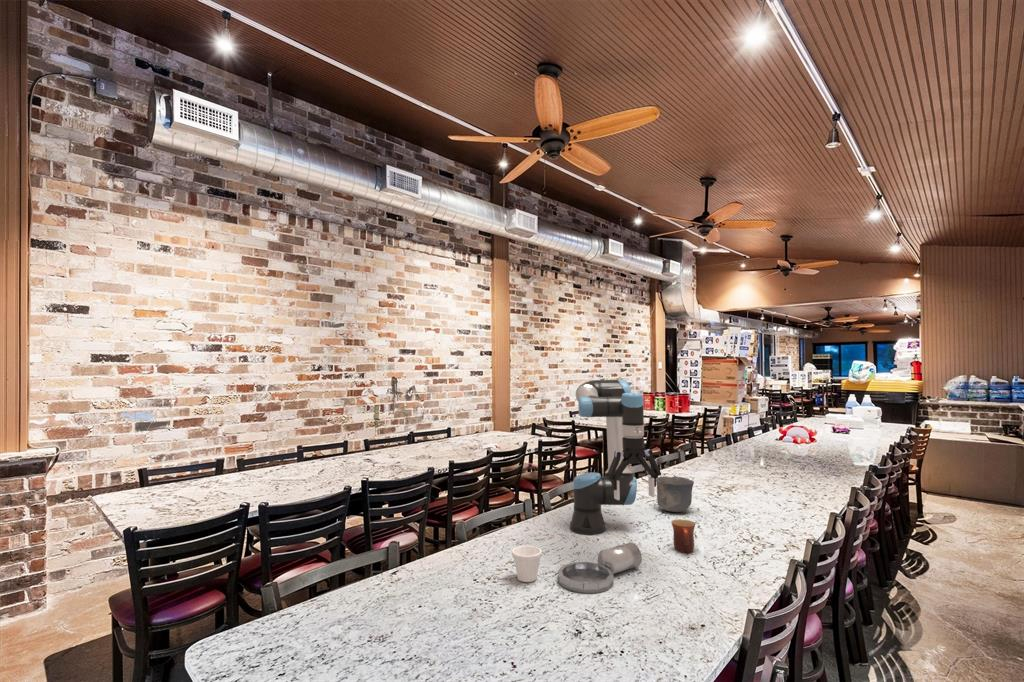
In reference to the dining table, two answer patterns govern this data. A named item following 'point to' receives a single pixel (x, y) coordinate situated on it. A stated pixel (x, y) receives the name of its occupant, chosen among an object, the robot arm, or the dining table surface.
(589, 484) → the robot arm
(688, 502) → the bowl
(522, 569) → the cup
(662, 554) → the dining table surface
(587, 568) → the grey saucepan
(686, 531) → the mug
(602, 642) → the dining table surface
